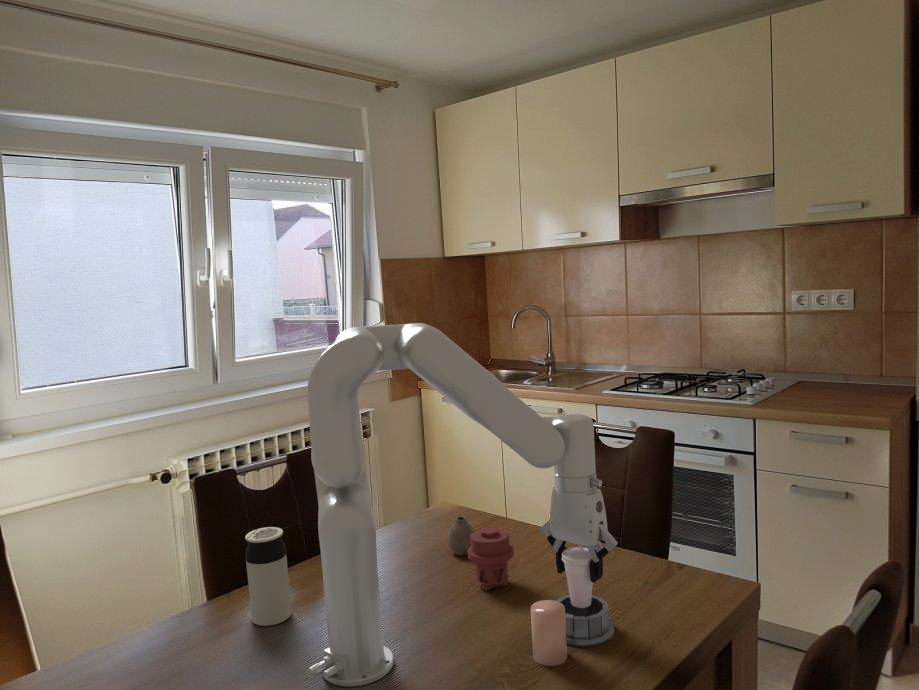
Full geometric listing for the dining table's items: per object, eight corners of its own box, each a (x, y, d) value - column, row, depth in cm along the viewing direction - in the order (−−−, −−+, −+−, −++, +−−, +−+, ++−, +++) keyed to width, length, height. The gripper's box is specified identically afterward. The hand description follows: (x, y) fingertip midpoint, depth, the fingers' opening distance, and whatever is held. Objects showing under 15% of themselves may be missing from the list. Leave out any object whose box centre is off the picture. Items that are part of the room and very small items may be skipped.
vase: (445, 550, 174) (443, 515, 173) (471, 545, 176) (469, 511, 175) (453, 560, 168) (451, 525, 167) (480, 555, 170) (478, 520, 169)
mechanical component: (471, 575, 159) (515, 574, 158) (467, 595, 149) (515, 594, 148) (468, 522, 158) (512, 521, 157) (464, 539, 148) (511, 538, 147)
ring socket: (594, 654, 124) (593, 628, 123) (537, 634, 131) (536, 610, 131) (626, 625, 133) (625, 601, 132) (571, 608, 140) (570, 585, 140)
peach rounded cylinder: (555, 670, 119) (552, 619, 119) (526, 659, 123) (523, 610, 122) (573, 654, 124) (571, 605, 123) (545, 644, 128) (542, 597, 127)
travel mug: (298, 609, 147) (291, 527, 145) (279, 628, 139) (271, 541, 138) (265, 607, 149) (257, 525, 147) (244, 625, 142) (235, 539, 140)
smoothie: (604, 607, 129) (601, 534, 128) (572, 614, 127) (568, 539, 126) (589, 592, 135) (585, 522, 134) (558, 599, 134) (554, 528, 132)
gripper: (627, 483, 126) (631, 578, 128) (547, 470, 137) (551, 558, 139) (607, 495, 121) (611, 594, 122) (525, 480, 132) (529, 571, 134)
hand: (579, 574), depth 131 cm, fingers closed on smoothie, 6 cm apart
